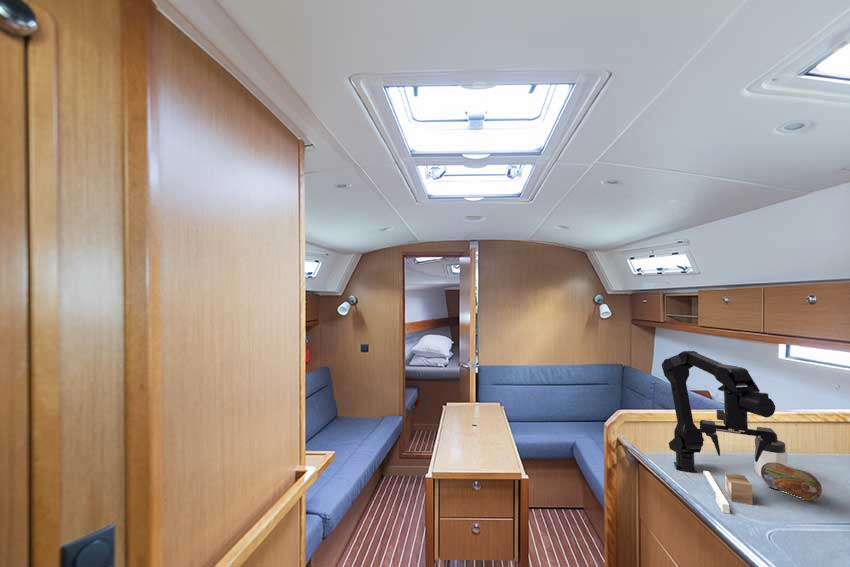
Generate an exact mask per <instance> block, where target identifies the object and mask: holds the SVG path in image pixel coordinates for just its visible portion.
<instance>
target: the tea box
mask: <svg viewBox="0 0 850 567" xmlns="http://www.w3.org/2000/svg"><path fill="white" fill-rule="evenodd" d="M724 475H725V476H724V484H725V492H726V494H727V495H728V497H729V499H730V501H731V502H732V503H737V504H743V505H744V504H745V505H749V506H750V505H751V506H754V505H753V485H752V483H751V482H750V481H749V479H748V478H747V477H746V476H745V475H742V474H736V473H728V472H724Z"/></svg>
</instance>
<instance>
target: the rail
mask: <svg viewBox="0 0 850 567" xmlns="http://www.w3.org/2000/svg"><path fill="white" fill-rule="evenodd" d="M702 474H703V475H702V476H703V477H702V478H703V480H704V482H705V484H706V485H707V487H708V489H709V491H710V492H711V495H712V496H713V498H714V499H715V501H716V503H717V505H718V506H719V508H720V510H721V512H722V513H723V514H730V512H731V511H730V504H729V501H728V500H727V498H726V497H725V496H724V494H723V493H722V491H721V489H720V488H719V486H718V484H717V482H716V481H715V479H714V478H713V476H712V474H711V473H710V471H707V470H703V471H702Z"/></svg>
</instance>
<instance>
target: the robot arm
mask: <svg viewBox="0 0 850 567" xmlns="http://www.w3.org/2000/svg"><path fill="white" fill-rule="evenodd" d="M693 367H696V368H698V369H700V370H702V371H703V372H706V373H708V374H709V375H712V376H714V378H715V380H716V381H718V382H719V383H720V384H721V386H719V387H718V388H717V390H718V391H721V392H723V402H724V404H723V405H724V406H723V408H724V410H723V409H716V420H717V421H723V425H721V424H716V423H715V421H713V420H707V419H701V420H700V421H699V428H698V427H697V426H696V425H695V422H694V419H693V412H692V406H691V403H690V397H689V392H688V385H687V382H688V379H689V377H690V369H691V368H693ZM661 369H662V371H663V375H664V377H665V378H666V379H667V380H668V382H669V383H670V388H671V393H672V400H673V404H674V410H675V415H676V421H677V424H676V426H675V427H674V431H673V432H674V434H673V436H674V437H673V438H672V440H670V441H669V442H668V446H669V450H671V451H673V452H675V461H673V464H674V465H673V466H674V467H675V469H676V470H678V471H683V472H690V473H698V469H697V467H696V465H695V453H699V454H700V453H701V451H702V447H703V446H704V441H705V439H704V436H703V434H705V435H706V436H707V437H710V439H711V441H712V443H713V445H714V446H715V447H714V448H715V450H716V453H717V455H718V456H721V450H720V443H719V438H718V434H717V432H721V433H722V432H724V433H730V434H735V435H736V434H738V435H743V436H744V435H745V436H746V435H747V436H751V437H755V438H756V446H755V462H757V461H758V459H759V457H760V455H761V453H762V452H763V450H764V449H765V448H766V446H767V445H772V443H771V442H774V443H777V440H778V434H777V432H776V431H775V430H773V429H772V428H771V427H765V426H764V427H762V426H757V427H756V429H754V428H749V424H748V422H749V420H748V419H749V418H748V413H750V414H753V415H757V416H759V417H762V418H771V417H772V416H773V415H774V413H775V411H776V405H775V403H774V401H773V400H772V398H770V397H769V394H768V393H767V392H761V390H760V388H759V387H758V385H757V384H756V382H755V381H754V379H753V378H752V376H751V374H750V373H749V370H748V369H746V368H745V367H741V366H737V365H729V364H724V363H722V362H719V361H717V360H714V359H712V358H710V357H707V356H705V355H703V354H700V353H699V352H697V351H695V350H683V351H681V352H680V353H678V354H676V355H674V356H671V357H669V358H665V359H664V360H663V361H662V363H661Z"/></svg>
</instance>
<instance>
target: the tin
mask: <svg viewBox="0 0 850 567" xmlns="http://www.w3.org/2000/svg"><path fill="white" fill-rule="evenodd" d="M761 475H762V477H761V478H762V480H763V481H764V482H765V483H766V485H767V486H768V487H770V488H771V489H773V488H774V489H773V490H775V489H778V490H781V491H784V492H787V493H789V494H792V495H795V496H798V497H801V498H802V499H804V500H803V501H805V500H806V501H807V502H809V501H810V502H811V501H814V500H817V499H818V498H820V497H821V495H822V492H823V489H822V485H821V483H820V481H819V479H818V478H817V477H815V476H814V475H813V474H812V473H810V472H809V471H805V470H802V469H798V468H795V467H792V466H786V465H783V464H780V463H766V464H764V465H763V466H762V468H761ZM802 499H801V500H802Z"/></svg>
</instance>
